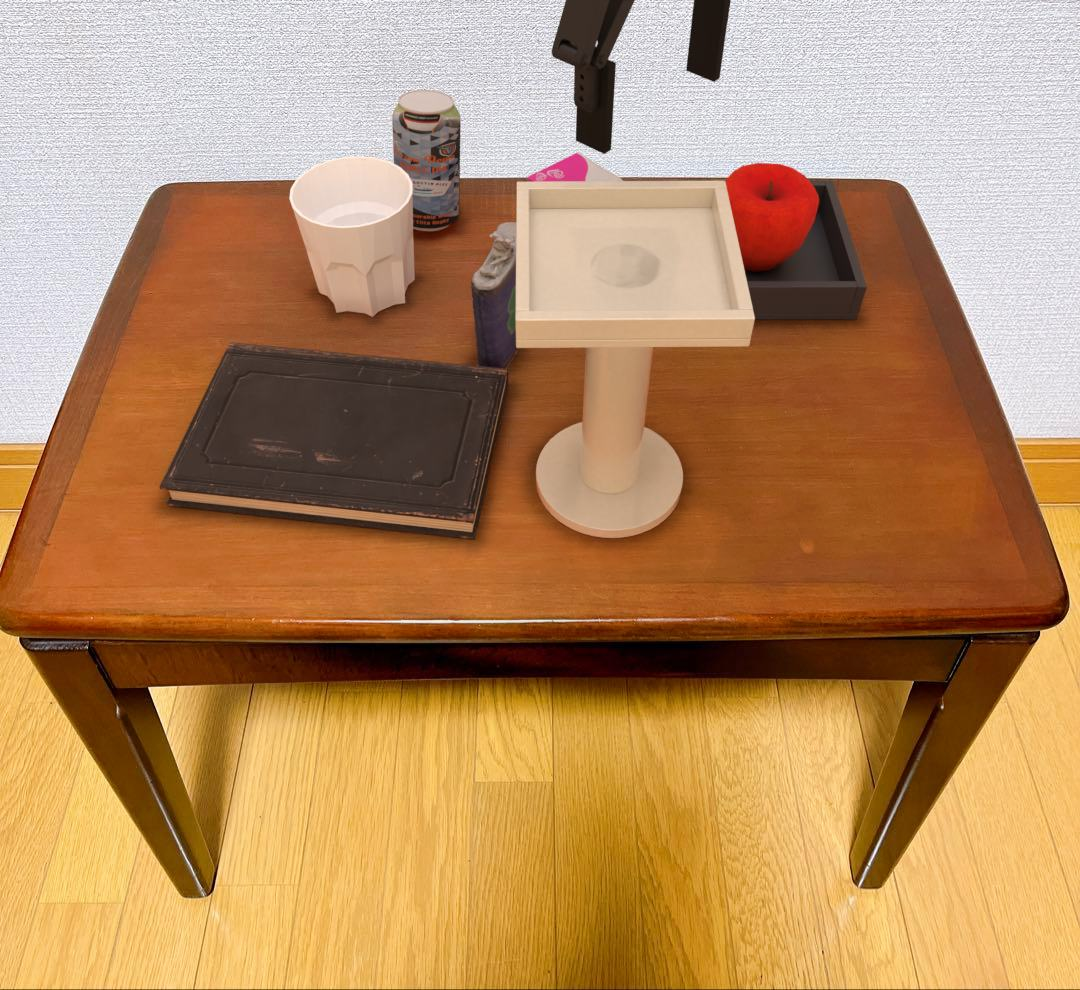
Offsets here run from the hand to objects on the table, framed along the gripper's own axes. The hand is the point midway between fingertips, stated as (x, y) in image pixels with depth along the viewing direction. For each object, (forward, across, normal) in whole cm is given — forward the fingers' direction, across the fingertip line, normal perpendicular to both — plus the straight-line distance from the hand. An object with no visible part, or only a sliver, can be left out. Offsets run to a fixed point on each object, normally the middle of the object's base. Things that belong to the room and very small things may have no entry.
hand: (650, 108), depth 77 cm
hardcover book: (+18, +29, -6) cm, 35 cm away
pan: (+18, -10, +6) cm, 21 cm away
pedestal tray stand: (+18, +19, +12) cm, 28 cm away
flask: (+18, +12, -4) cm, 22 cm away
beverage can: (+18, +4, -21) cm, 28 cm away
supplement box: (+18, +3, -4) cm, 19 cm away
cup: (+18, +15, -18) cm, 30 cm away
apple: (+17, -10, +6) cm, 21 cm away
